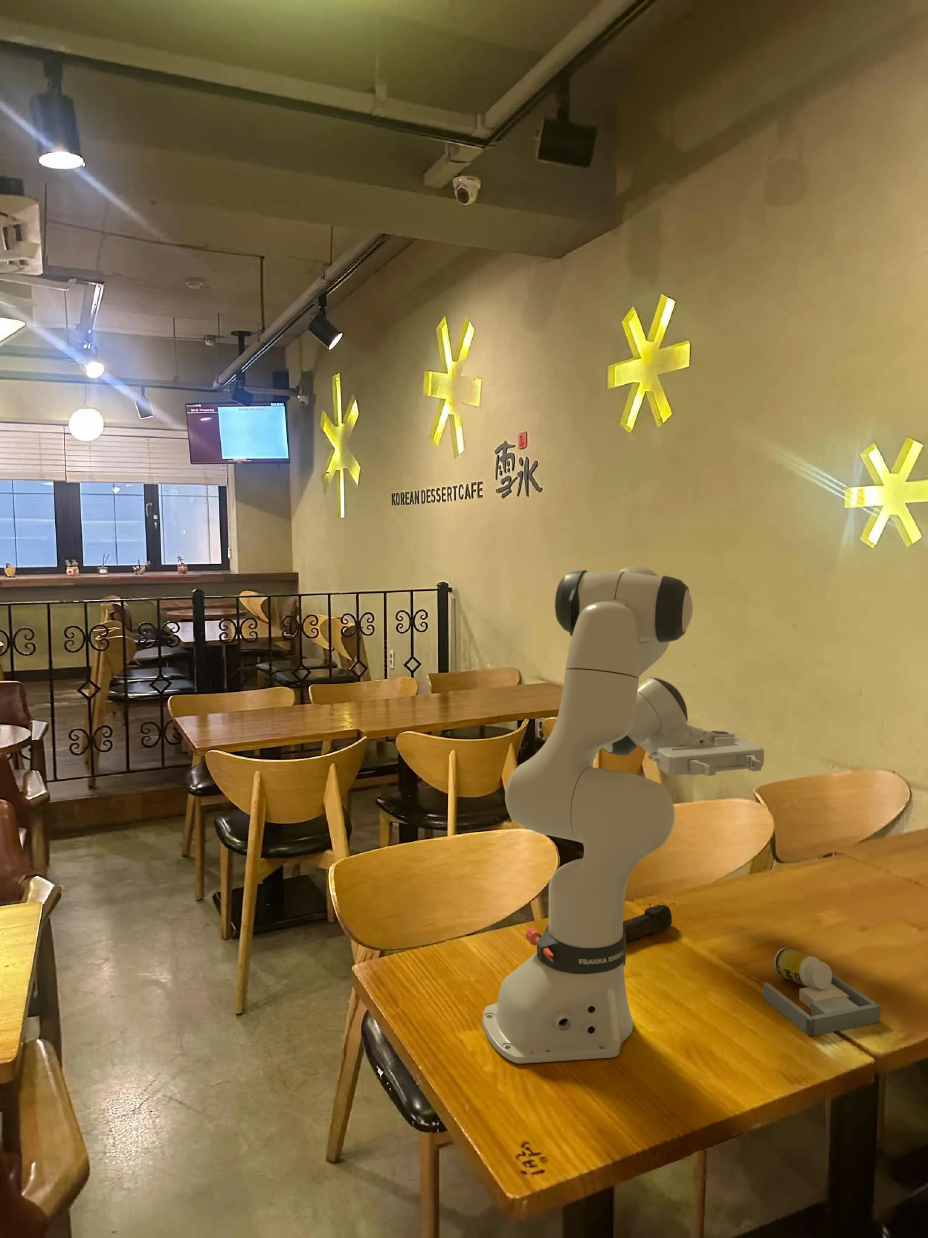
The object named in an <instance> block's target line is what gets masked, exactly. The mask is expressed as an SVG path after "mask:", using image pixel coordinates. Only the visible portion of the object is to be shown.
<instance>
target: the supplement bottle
mask: <svg viewBox="0 0 928 1238" xmlns="http://www.w3.org/2000/svg"><path fill="white" fill-rule="evenodd" d="M773 960H774V961H773V967H774V970H775V972H776V973H777V974H778V975H779V976H780V977H782V978H783V979H786V980H789V981H791V982H794V983H797V984H800V985H801V986H804V987H806V988H807V987H812V986H813V987H815V988H819V989H825V988H827V987H828V986H829V985H830V983H831V980H832V973H833V972H832V969H831V967H830V965H828V964H827V963H826V962H824V961H823V962H822V961H821V960H819V958H817V957H815V956H812V955H809V954H806V953H805V952H804V953H803V952H801V951H798V950H794V949H793V948H788V947H782V948H781V949H779V950H778V951H777V952H776V954H775V955H774V959H773Z"/></svg>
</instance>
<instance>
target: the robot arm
mask: <svg viewBox="0 0 928 1238" xmlns="http://www.w3.org/2000/svg"><path fill="white" fill-rule="evenodd" d="M691 596H692V595H691V593H690V589H689V587H688V585H686V583H685V582H683V581H682V579H679V578H677V577H672V576H669V575H663V576H662V577H661V576H659V575H658V574H657V573H656V572H655V571H654V570H652V569H650V567H649V568H648V567H646V566H643V565H630V566H626V567H623V568H621V569H619V570H598V571H597V570H596V571H595V570H594V571H588V570H586V569H585V570H577V571H571V572H568V573H566V574H565V576H563V577H562V578H561V579H560V581H559V583H558V585H557V588H556V592H555V596H554V610H555V617H556V620H557V622H558V624H559V625H560V627H562V629H563V630H564V631H567V632H568V633H569V635H570V637H571V638H570V639H571V640H570V644H569V648H568V652H567V657H566V664H565V671H564V678H563V679H564V680H563V684H562V694H561V697H560V704H559V709H558V714H557V717H556V721H555V723H554V726H553V729H552V731H551V732H550V735H549V736H548V738H547V740H546V741H545V743H544V744H543V745H542V746H541V747H540V749H539V750H538V751H537V752H536V753H535V754H534V755H532V756H531V757H530V758H529V759H527V760H526V761H524V762H523V763H521V764H519V765H518V766H517V767H516V768H515V769H514V770H513V771H512V772H511V774H510V776H509V778H508V780H507V783H506V785H505V790H504V791H505V792H504V802H505V806H506V809H507V813H508V814H509V817H510V819H511V820H512V821H513V822H514V823H516V824H518V825H520V826H522V827H524V828H526V829H528V830H531V831H533V832H535V833H538V834H540V835H545V836H551V837H554V838H561V839H565V840H569V841H574V842H579V843H580V844H582V845H583V857H582V858H579V859H575V860H572V861H570V862H568V863H565V864H563V865H562V866H560V867H559V868H557V869H556V870H555V871H554V873H553V874H552V876H551V878H550V880H549V884H548V925H547V926H546V928H545V930H544V931H543V934H541V933H540V932H539V931H538V930H537V928H535V927H529V928H528V929H527V930H526V931H525V934H524V935H525V939H526V940H527V941H528V942H529V943H530V945H532V946H536V952H534V954H533V955H531V956H530V957H528V959H527V960H526V961H524V962H523V963H522V964H520V965H519V966H518V967H517V968H515V969H514V970H513V971H512V972H510V974H508V975H507V976H505V977H504V978H503V980H502V982H501V984H500V987H499V991H498V997H497V1002H494V1003H492V1004H489V1005H486V1007H485V1008H484V1010H483V1013H482V1019H481V1020H482V1027H483V1031H484V1033H485V1035H486V1037H487V1040H488V1041H489V1042H490V1044H491V1045H492V1046H493V1048H494V1049H495V1050H496V1051H497V1053H499V1054H500V1055H501V1056H503V1058H505V1059H507V1060H508V1061H510V1062H513V1063H514V1064H536V1063H548V1062H549V1063H551V1062H565V1061H576V1060H578V1061H579V1060H591V1059H592V1060H593V1059H607V1058H610V1059H611V1058H615V1057H618V1056H619V1054H620V1051H621V1047H622V1044H623V1042H624V1041H626V1040H627V1039H628V1038H629V1036H630V1035H631V1034H632V1032H633V1029H634V1021H633V1018H632V1014H631V1011H630V1007H629V1002H628V994H627V988H626V981H625V966H626V962H627V941H626V934H625V931H624V929H623V921H624V915H625V914H624V912H625V911H624V910H625V898H626V889H627V885H628V881H629V879H630V875H631V874H632V872H633V871H634V869H635V867H636V866H637V865H638V864H639V862H641V861H642V859H644V858H645V857H646V856H648V855H650V854H651V853H653V852H655V851H657V850H659V848H661V846H663V845H664V844H665V842H666V841H667V840H668V838H669V837H670V836H671V834H672V831H673V828H674V826H675V825H674V824H675V819H676V818H675V817H676V816H675V815H676V813H675V805H674V801H673V798H672V796H671V795H670V793H669V791H668V790H667V788H666V787H665V785H664V784H662V783H660V782H657V781H654V780H652V779H649V778H647V777H644V776H641V775H638V774H635V773H631V772H625V771H619V770H618V771H617V770H613V769H612V770H611V769H605V768H598V767H593V765H594V761H595V759H596V756H597V754H598V753H599V751H600V750H601V749H603V750H604V751H605V752H607V753H609V754H611V755H616V756H628V755H630V754H631V753H632V752H633V751H635V749H637V748H638V746H640V747H641V749H642V750H644V751H645V752H646V753H647V754H648V759H649V760H650V761H652V762H656V766H657V768H658V769H659V770H661V771H662V772H664V773H665V774H667V775H669V776H684V775H691V776H699V775H704V776H706V777H711V776H716V772H718V773H719V772H725V771H726V772H728V771H737V770H749V771H750V772H751V771H752V772H761V771H762V768H763V766H764V764H765V751H764V750H765V749H764V748H763V747H762V746H760V745H758V744H756V743H754V742H751V741H749V740H746V739H744V738H740V737H736V735H735V733H733V732H731V731H720V730H708V729H703V728H700V727H699V728H697V727H694V726H692V725H688V724H687V723H688V707H687V705H686V701H685V699H684V697H683V696H682V694H681V692H680V691H679V690H678V689H677V688H676V687H675V685H673V684H672V683H670V682H668V681H666V680H664V679H661V678H658V677H648V678H647V679H646V680H644V681H642V682H641V683H640V680H639V679H640V677H641V676H642V675H643V674H644V673H645V672H646V671H647V670H648V669H650V667H652V665H654V664H655V663H656V662H657V661H659V660H660V659H661V658H662V656H663V655H664V654H665V653H666V651H667V650H668V647H669V644H670V642H674V641H678V640H679V639H681V638H682V637H683V636H684V635H685V633H686V632H687V629H688V627H689V626H690V624H691V621H692V617H693V612H694V609H693V608H694V607H693V600H692V597H691ZM639 683H640V684H639Z"/></svg>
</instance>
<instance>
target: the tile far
mask: <svg viewBox="0 0 928 1238" xmlns="http://www.w3.org/2000/svg"><path fill="white" fill-rule="evenodd" d="M798 992H799V993H798V994H799V996H798V1000H799V1001H800V1002H801V1003H803V1004H804V1005H806V1006H807V1007H808V1008H809V1009H810V1008H811V1002H813V1001H818V1000H823V999H828V998H833V997H838V996H845V997H846V998H847V999H849V995H847V994H846V993H844V992H843V991H842V990H840V989H839V988H837V987H836V986H835V985H833V984H832V983H830V985H829V986H828V987H827V988H825V989H819V988H815V987H813V986H812V987H807V986H806V987H803V988H799V991H798Z"/></svg>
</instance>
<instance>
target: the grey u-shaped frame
mask: <svg viewBox="0 0 928 1238" xmlns="http://www.w3.org/2000/svg"><path fill="white" fill-rule="evenodd" d="M831 983H832V984H833V985H835V986H836V987H837V988H839V989H840V990H842V991H843V992H844V993H846V994H847V995H849V1000H850V1001H852V1002H853V1003H854V1004H856V1005H857V1006H859V1007H855V1008H850V1009H845V1010H840V1011H835V1012H830V1013H825V1014H820V1015H815V1016H812V1015H810V1014H809V1013H808V1012H806V1011H805V1010H803V1009H802V1008H801V1007H800V1006H798V1005H797V1004H796V1003H794V1002H793V1001H792V1000H790V998H788V997H787V996H786V995H784V994H783V993H782V992H780V991H779V990H778V989H776V987H774V986H773V985H772V984H770V983H769V982H764V983H763V984H762V985H763V987H762V999H763V1000H764V1001H766V1002H767V1003H768V1004H769V1005H770V1006H772V1008H774V1009H775V1010H776V1011H778V1012H779V1013H780V1014H782V1015H783V1016H784V1017H785V1018H786V1019H787V1020H788V1021H790V1022H791V1023H792V1024H793V1025H794V1026H796V1027H797V1028H799V1029H800V1031H802V1032H803V1033H805V1034H806V1035H807V1036H808V1037H814V1036H819V1035H823V1034H828V1033H833V1032H837V1031H838V1032H839V1031H842V1030H848V1029H852V1028H856V1027H862V1026H867V1025H871V1024H877V1023H880V1022H881V1021H880V1020H881V1005H879V1004H878V1003H877V1002H875V1001H874V1000H873V999H870V998H869V997H867V996H866V995H865V994H863V993H862V992H860V990H858V989H856V988H854V987H853V986H851V985H850V984H849V983H847V982H846V981H844V980H843V979H842V978H840V977H838V975H836V974H834V973H833V972H832V980H831Z"/></svg>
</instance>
